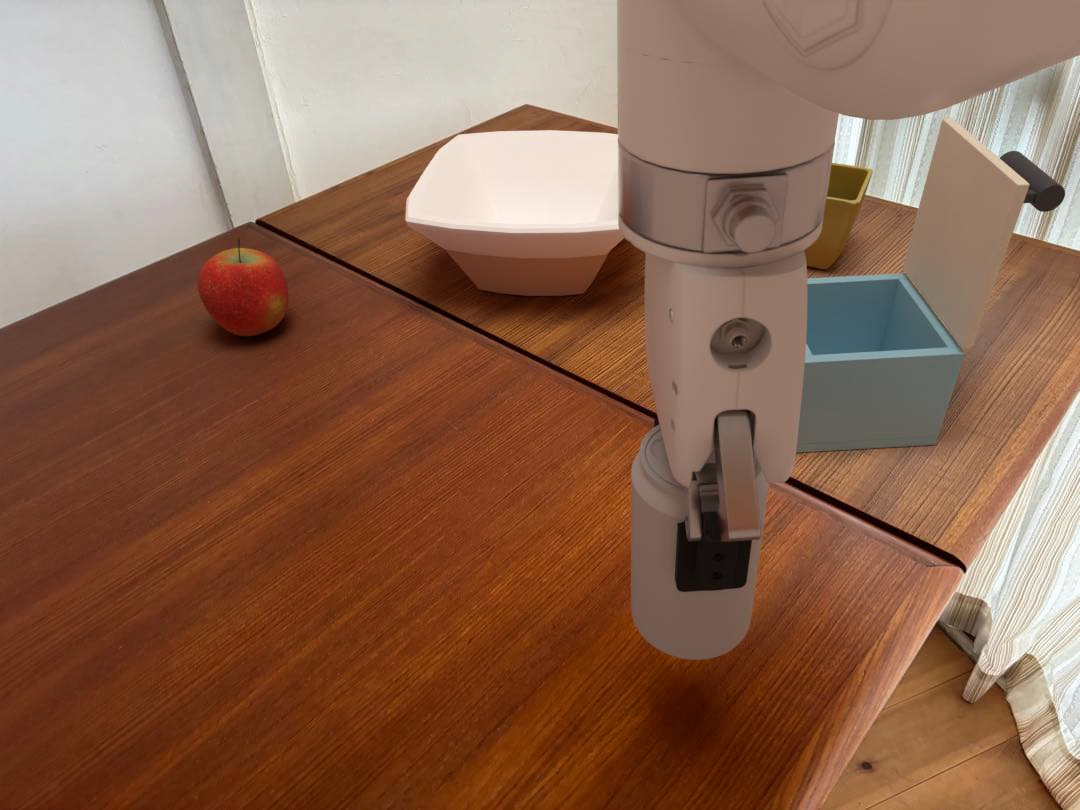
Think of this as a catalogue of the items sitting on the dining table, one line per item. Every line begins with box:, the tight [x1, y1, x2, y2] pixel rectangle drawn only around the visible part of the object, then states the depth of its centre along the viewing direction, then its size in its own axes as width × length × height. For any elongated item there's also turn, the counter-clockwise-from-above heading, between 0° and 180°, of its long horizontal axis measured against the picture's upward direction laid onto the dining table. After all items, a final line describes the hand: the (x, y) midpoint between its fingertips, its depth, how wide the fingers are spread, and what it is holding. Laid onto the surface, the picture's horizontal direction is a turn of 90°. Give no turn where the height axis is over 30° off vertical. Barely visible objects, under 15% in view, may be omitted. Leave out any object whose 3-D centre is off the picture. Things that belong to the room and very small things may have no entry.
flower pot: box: [804, 162, 874, 270], centre depth 89 cm, size 9×9×9 cm
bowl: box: [404, 129, 625, 297], centre depth 89 cm, size 24×25×11 cm
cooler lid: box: [902, 117, 1066, 349], centre depth 62 cm, size 13×12×5 cm
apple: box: [197, 236, 290, 337], centre depth 82 cm, size 8×8×10 cm
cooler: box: [796, 272, 966, 454], centre depth 69 cm, size 12×12×9 cm
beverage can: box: [630, 424, 770, 661], centre depth 42 cm, size 6×6×12 cm
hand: (695, 526), depth 42 cm, fingers closed on beverage can, 6 cm apart
